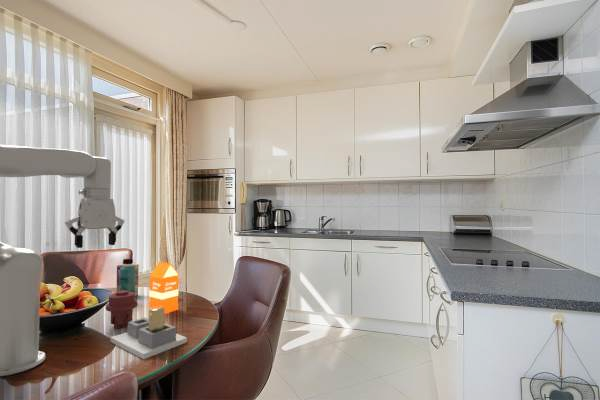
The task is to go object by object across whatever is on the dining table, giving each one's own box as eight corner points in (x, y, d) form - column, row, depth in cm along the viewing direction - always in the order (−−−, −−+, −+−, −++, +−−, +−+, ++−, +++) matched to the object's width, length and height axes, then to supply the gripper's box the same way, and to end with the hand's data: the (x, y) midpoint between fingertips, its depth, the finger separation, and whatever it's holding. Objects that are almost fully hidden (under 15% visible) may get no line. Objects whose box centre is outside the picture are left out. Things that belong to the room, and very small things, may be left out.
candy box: (138, 294, 157) (139, 263, 157) (134, 297, 152) (134, 265, 153) (120, 294, 156) (121, 263, 157) (115, 297, 152) (116, 265, 153)
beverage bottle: (120, 301, 145) (121, 258, 145) (136, 300, 147) (137, 257, 147) (116, 305, 138) (117, 260, 139) (133, 304, 140) (134, 259, 141)
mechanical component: (143, 321, 119) (123, 331, 109) (120, 319, 121) (98, 329, 111) (143, 289, 119) (123, 296, 109) (120, 287, 121) (99, 294, 111)
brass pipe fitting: (153, 345, 94) (154, 312, 94) (145, 342, 97) (146, 309, 97) (167, 340, 98) (167, 308, 98) (158, 337, 100) (159, 305, 100)
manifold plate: (143, 359, 89) (143, 339, 89) (110, 342, 100) (110, 324, 101) (186, 342, 100) (186, 324, 100) (152, 328, 112) (152, 312, 112)
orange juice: (161, 314, 127) (162, 264, 127) (148, 310, 131) (149, 262, 132) (178, 309, 133) (179, 262, 134) (165, 306, 138) (166, 260, 139)
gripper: (71, 193, 95) (69, 249, 94) (129, 195, 109) (128, 244, 109) (61, 193, 99) (60, 248, 99) (119, 195, 113) (118, 243, 113)
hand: (96, 246), depth 104 cm, fingers open, 9 cm apart
